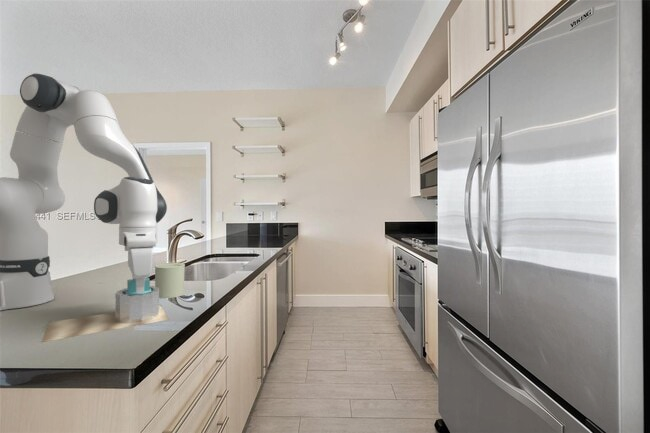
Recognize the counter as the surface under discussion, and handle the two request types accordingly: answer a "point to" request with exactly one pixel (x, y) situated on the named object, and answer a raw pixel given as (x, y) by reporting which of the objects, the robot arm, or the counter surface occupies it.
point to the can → (170, 279)
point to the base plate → (91, 325)
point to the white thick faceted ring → (136, 306)
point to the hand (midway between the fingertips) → (138, 288)
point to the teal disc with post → (132, 287)
